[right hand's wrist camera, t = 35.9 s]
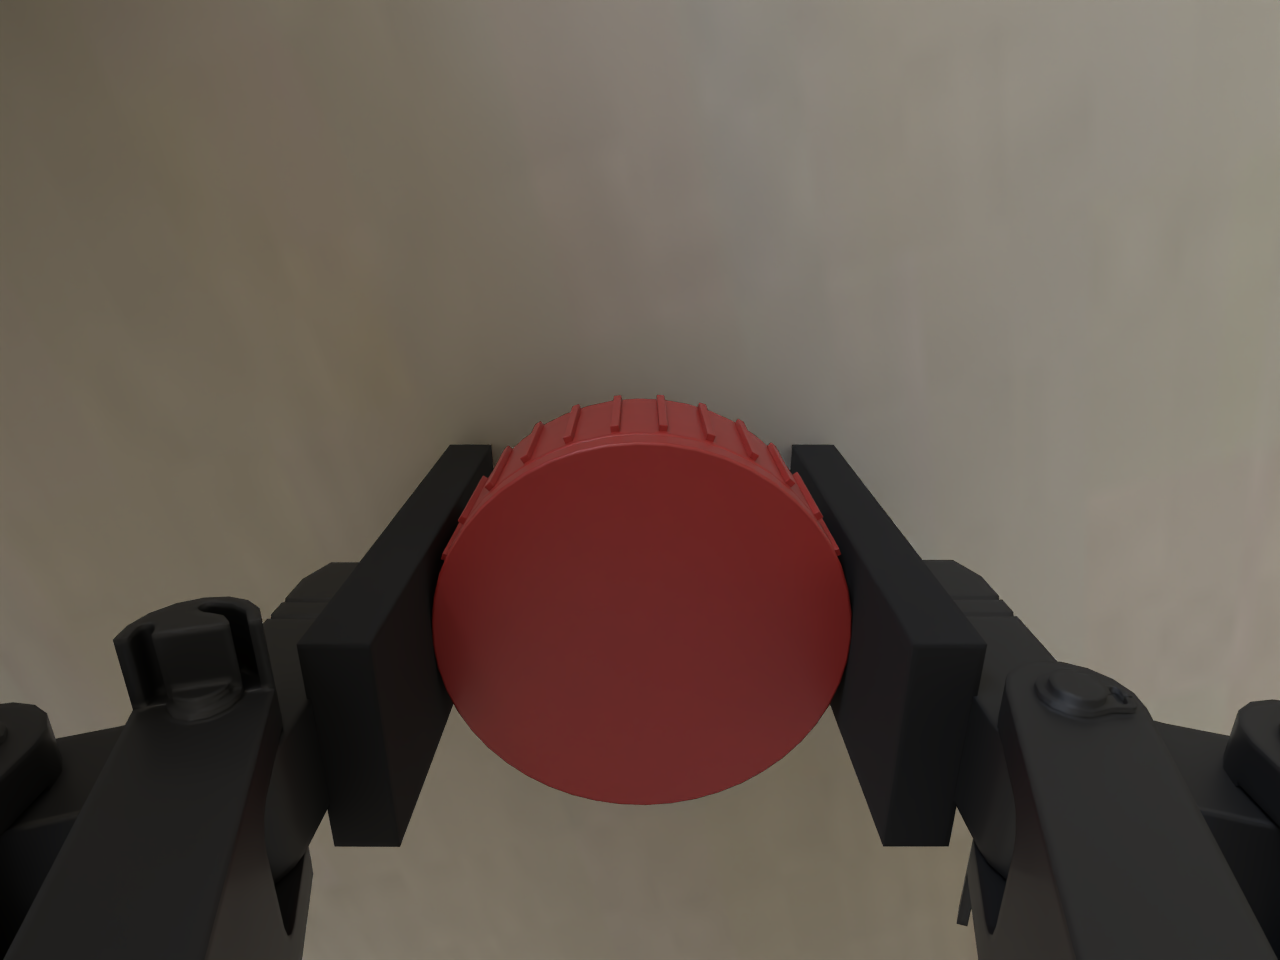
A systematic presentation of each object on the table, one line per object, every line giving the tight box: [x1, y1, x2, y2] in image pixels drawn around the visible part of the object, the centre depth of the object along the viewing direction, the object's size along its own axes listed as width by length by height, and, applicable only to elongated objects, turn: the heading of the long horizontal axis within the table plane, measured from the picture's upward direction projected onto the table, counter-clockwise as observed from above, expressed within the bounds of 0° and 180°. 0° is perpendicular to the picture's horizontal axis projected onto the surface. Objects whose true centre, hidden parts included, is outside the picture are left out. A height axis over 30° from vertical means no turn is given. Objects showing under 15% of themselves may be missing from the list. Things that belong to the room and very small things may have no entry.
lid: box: [431, 395, 852, 805], centre depth 11 cm, size 6×6×2 cm
